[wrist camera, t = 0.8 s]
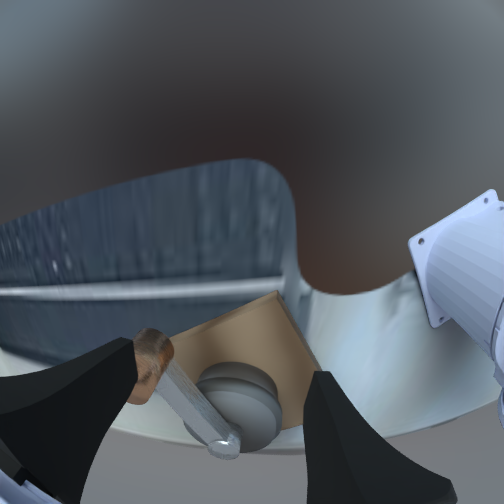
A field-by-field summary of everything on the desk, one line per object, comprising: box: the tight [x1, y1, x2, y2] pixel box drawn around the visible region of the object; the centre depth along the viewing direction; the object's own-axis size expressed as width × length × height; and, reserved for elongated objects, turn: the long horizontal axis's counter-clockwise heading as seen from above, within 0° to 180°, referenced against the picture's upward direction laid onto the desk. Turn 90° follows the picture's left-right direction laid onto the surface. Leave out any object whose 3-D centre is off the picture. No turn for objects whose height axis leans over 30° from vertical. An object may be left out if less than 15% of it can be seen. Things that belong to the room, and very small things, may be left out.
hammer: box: [126, 328, 243, 460], centre depth 13 cm, size 10×2×4 cm, turn 28°
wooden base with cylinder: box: [169, 290, 322, 453], centre depth 19 cm, size 13×12×6 cm
